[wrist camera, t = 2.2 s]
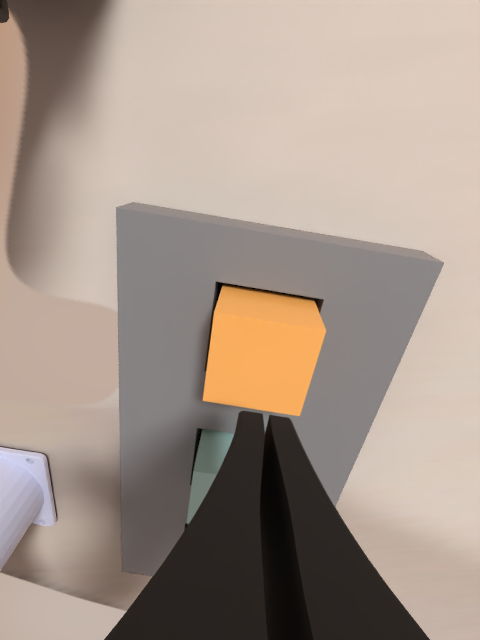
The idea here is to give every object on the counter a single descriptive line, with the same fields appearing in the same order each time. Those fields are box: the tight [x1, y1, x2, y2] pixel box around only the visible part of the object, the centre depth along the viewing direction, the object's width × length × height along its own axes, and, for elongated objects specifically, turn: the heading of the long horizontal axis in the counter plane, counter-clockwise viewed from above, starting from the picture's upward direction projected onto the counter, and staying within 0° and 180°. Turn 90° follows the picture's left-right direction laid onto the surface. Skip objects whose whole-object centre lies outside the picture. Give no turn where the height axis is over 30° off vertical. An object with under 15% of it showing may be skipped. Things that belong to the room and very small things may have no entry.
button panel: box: [116, 202, 444, 576], centre depth 21 cm, size 14×28×2 cm, turn 171°
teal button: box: [187, 429, 234, 524], centre depth 19 cm, size 4×4×3 cm
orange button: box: [203, 284, 326, 416], centre depth 15 cm, size 4×4×3 cm
